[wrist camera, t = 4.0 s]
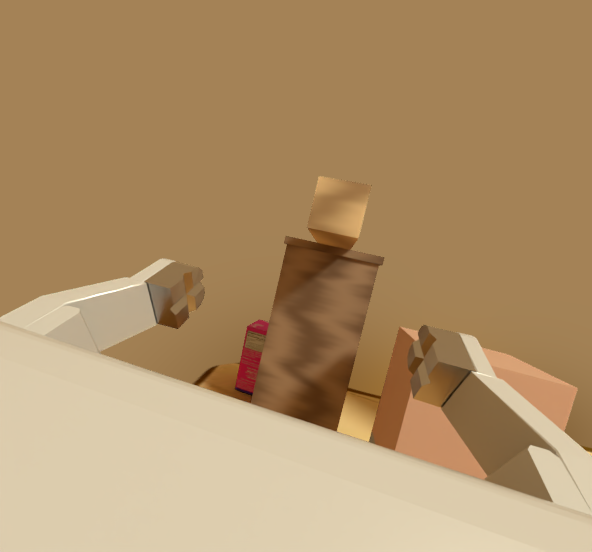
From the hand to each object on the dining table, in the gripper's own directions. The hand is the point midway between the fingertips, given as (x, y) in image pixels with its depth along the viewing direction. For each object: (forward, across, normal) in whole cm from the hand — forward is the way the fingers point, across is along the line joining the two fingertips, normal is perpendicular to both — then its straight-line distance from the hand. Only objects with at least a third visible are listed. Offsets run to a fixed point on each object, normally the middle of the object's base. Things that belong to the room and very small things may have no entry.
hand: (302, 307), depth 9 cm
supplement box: (+18, -8, -36) cm, 40 cm away
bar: (+19, 0, -6) cm, 20 cm away
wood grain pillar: (+12, 0, -32) cm, 34 cm away
